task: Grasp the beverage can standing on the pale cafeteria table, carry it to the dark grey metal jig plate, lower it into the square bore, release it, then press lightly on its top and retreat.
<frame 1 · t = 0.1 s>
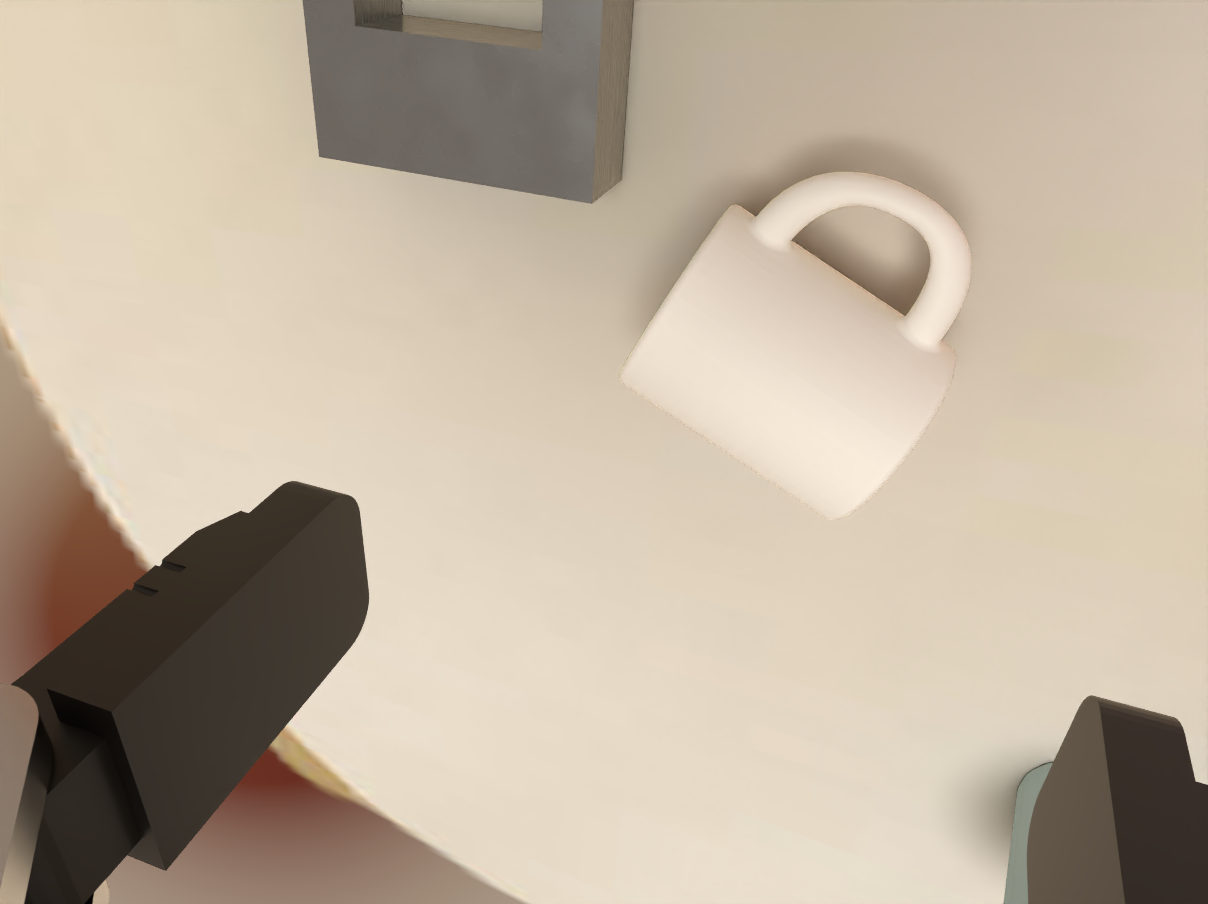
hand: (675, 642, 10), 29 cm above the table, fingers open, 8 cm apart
mug: (827, 285, 38), on the table
cup: (1077, 796, 47), on the table
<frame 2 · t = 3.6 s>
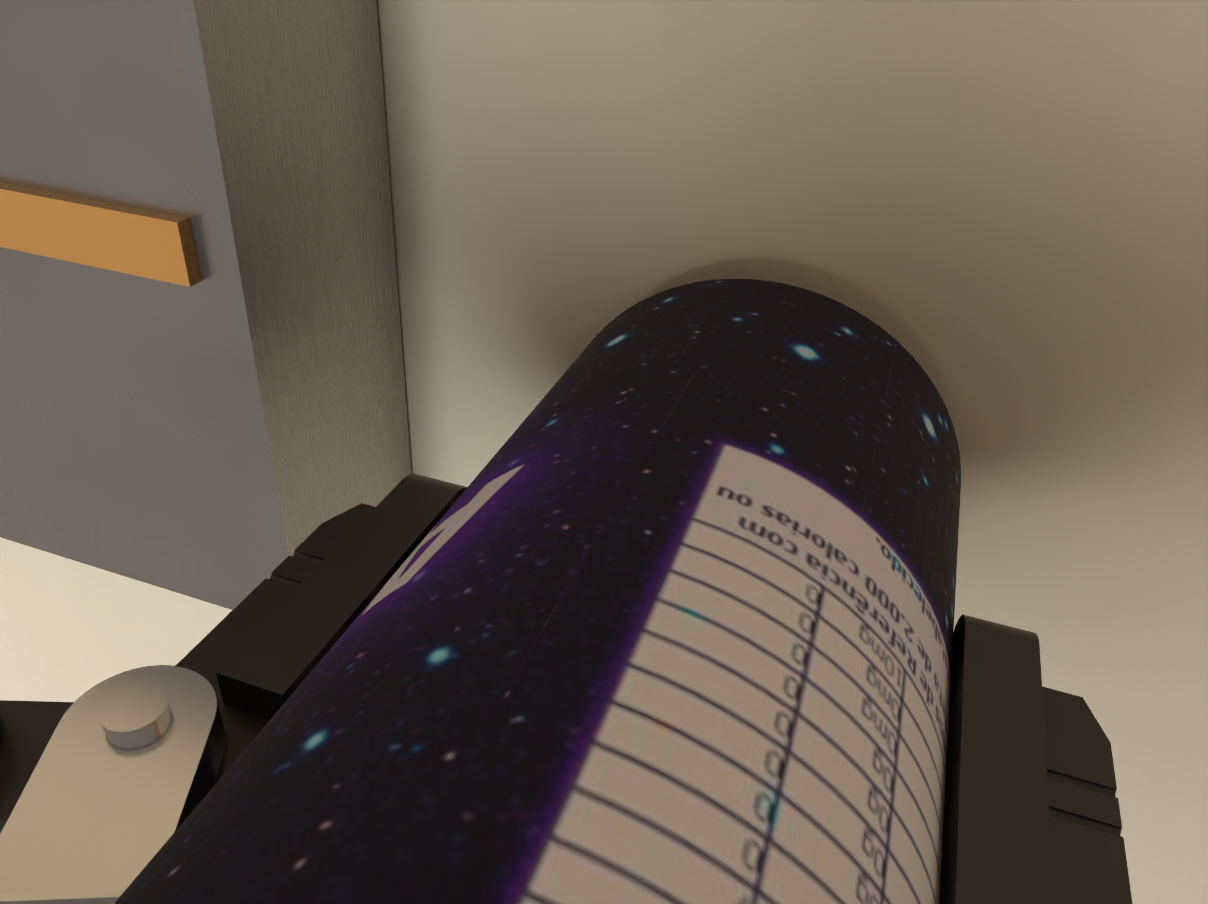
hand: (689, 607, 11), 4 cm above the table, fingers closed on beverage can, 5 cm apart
beverage can: (762, 431, 14), on the table, touching gripper
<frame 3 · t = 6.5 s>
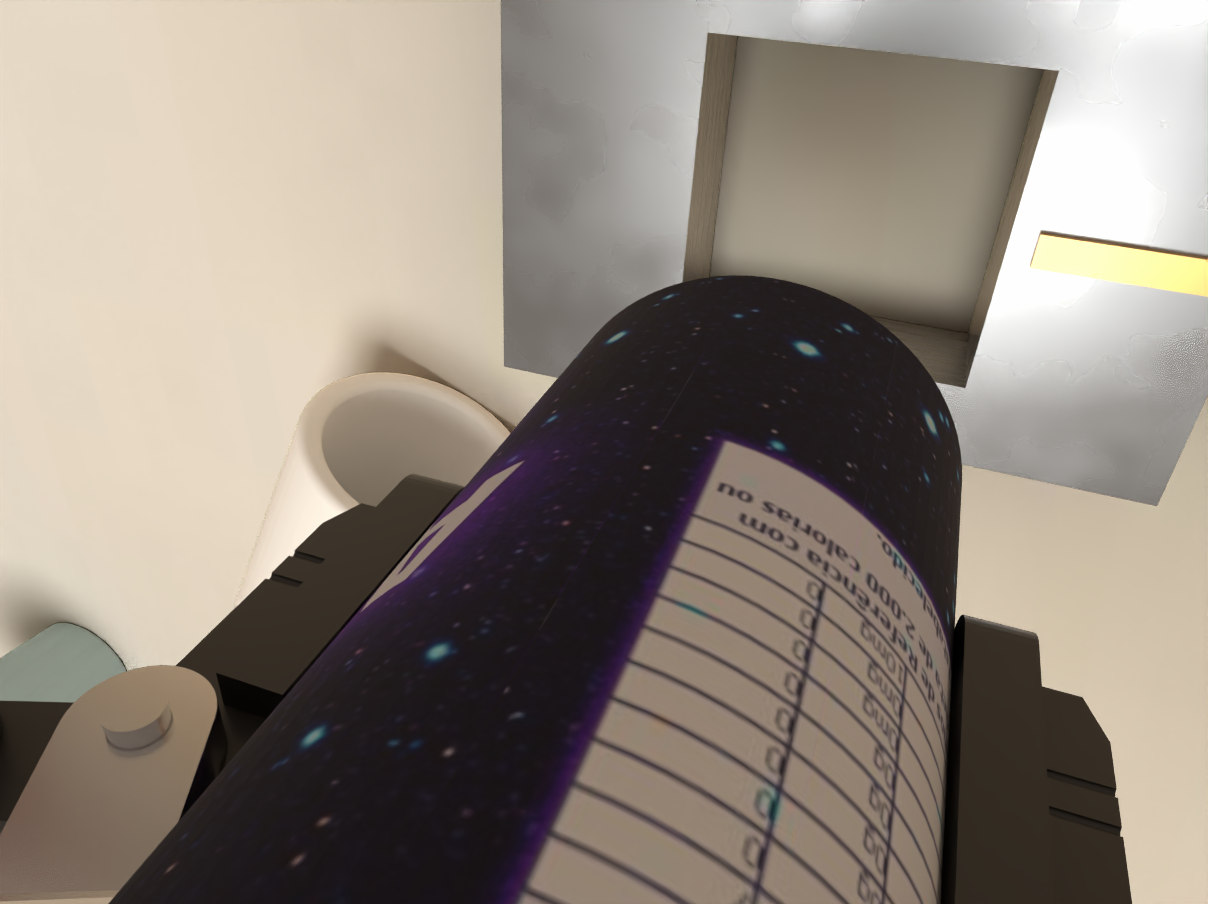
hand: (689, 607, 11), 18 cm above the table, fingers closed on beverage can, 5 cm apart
mug: (476, 513, 37), on the table
cup: (91, 657, 52), on the table
jig: (858, 180, 25), on the table
beverage can: (762, 429, 14), point 14 cm above the table, touching gripper
when the fingers open (5 cm above the table, at t = 9.6 s): beverage can drops 1 cm, resting in jig.
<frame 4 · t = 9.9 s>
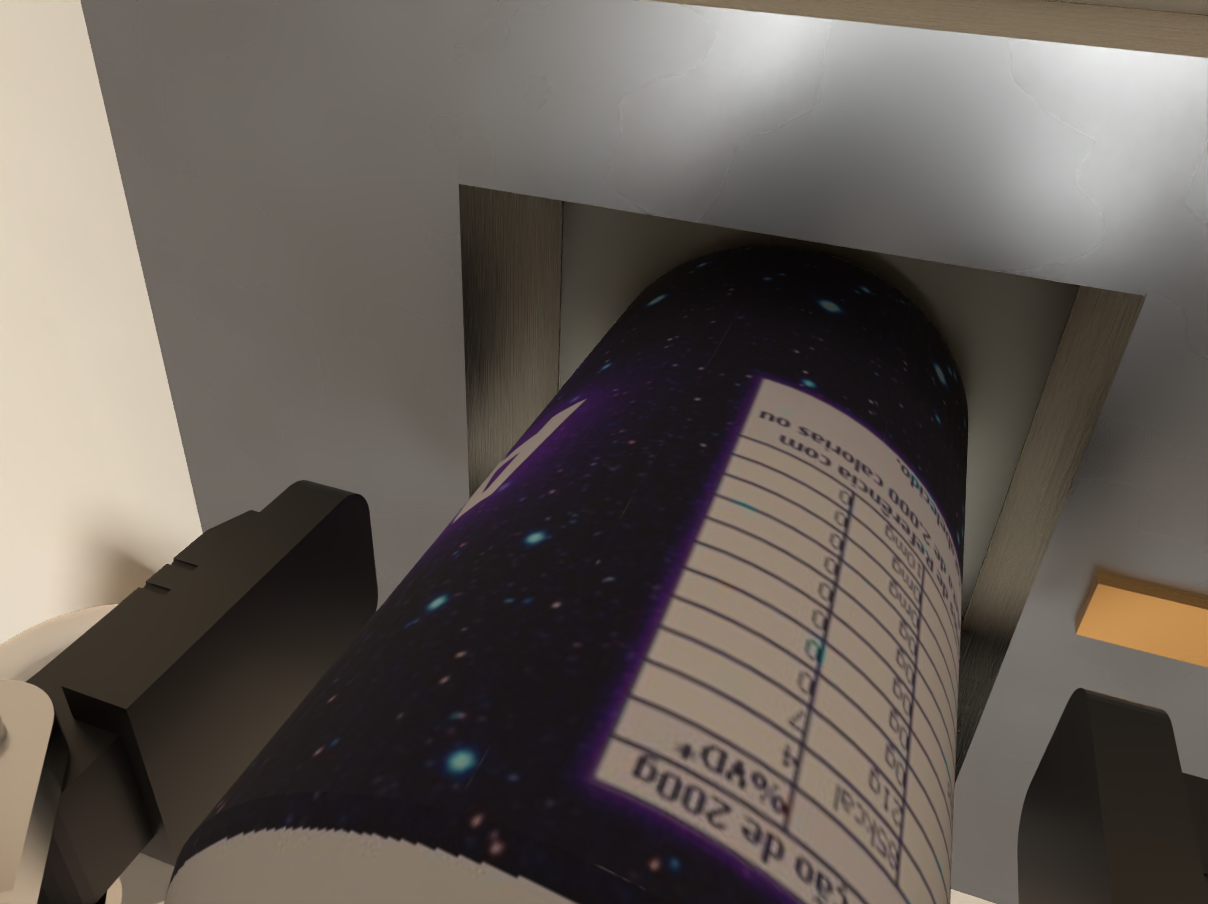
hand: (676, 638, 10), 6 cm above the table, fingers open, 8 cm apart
mug: (281, 763, 27), on the table
jig: (776, 393, 15), on the table
beverage can: (783, 391, 15), resting in jig
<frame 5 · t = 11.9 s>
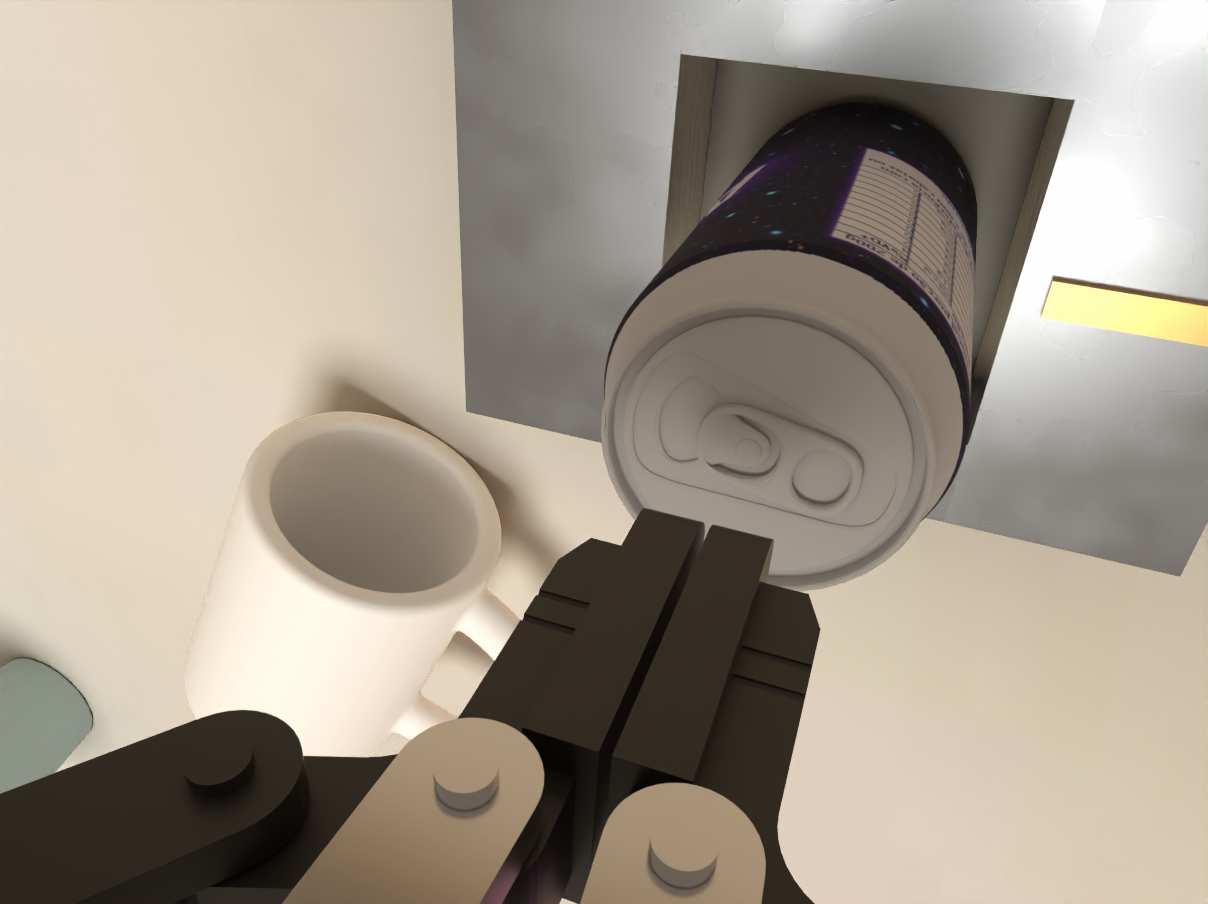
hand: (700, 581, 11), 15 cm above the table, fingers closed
mug: (445, 556, 35), on the table
cup: (53, 694, 50), on the table
jig: (851, 213, 23), on the table
beverage can: (855, 213, 23), resting in jig
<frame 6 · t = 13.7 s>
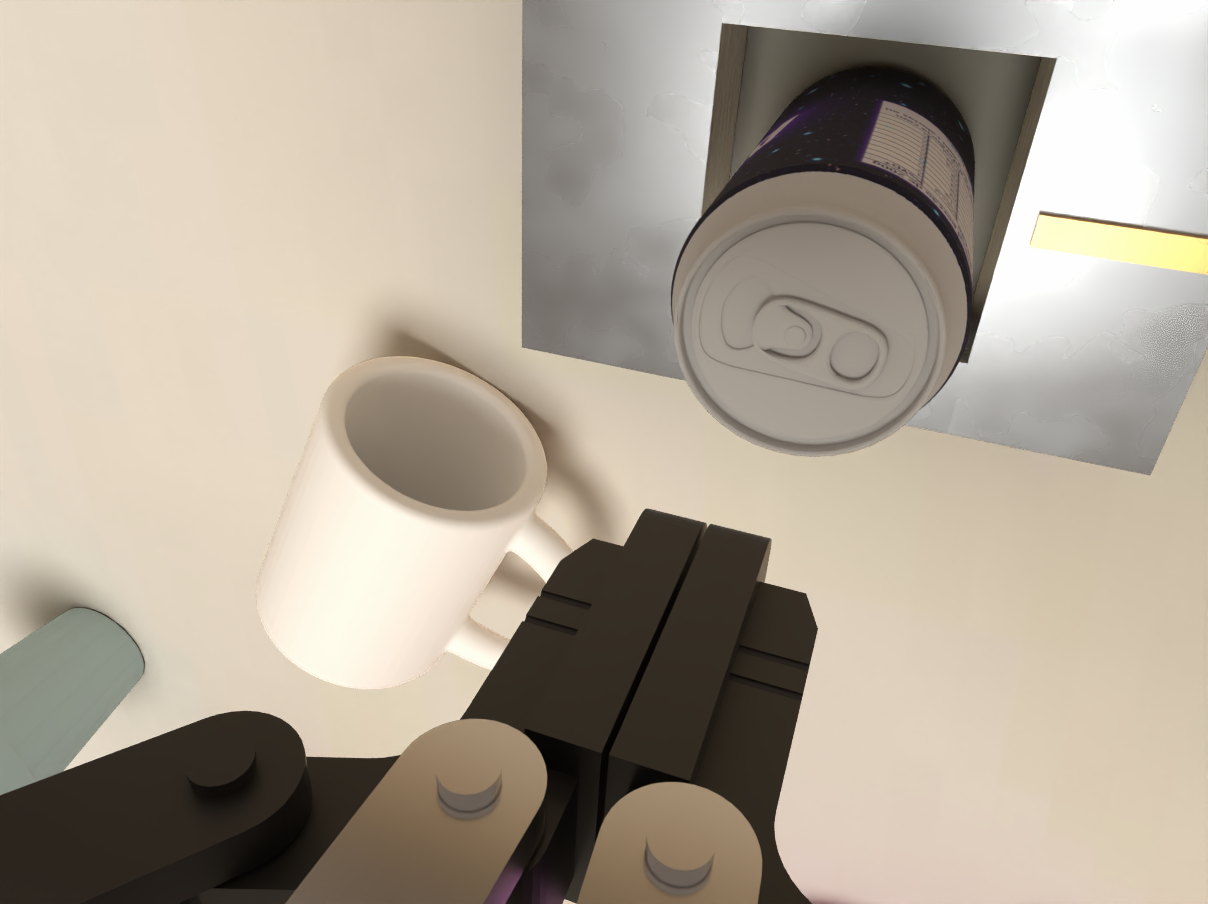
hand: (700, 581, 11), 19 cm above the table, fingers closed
mug: (489, 494, 38), on the table
cup: (106, 642, 53), on the table
jig: (864, 165, 26), on the table
beverage can: (867, 165, 27), resting in jig
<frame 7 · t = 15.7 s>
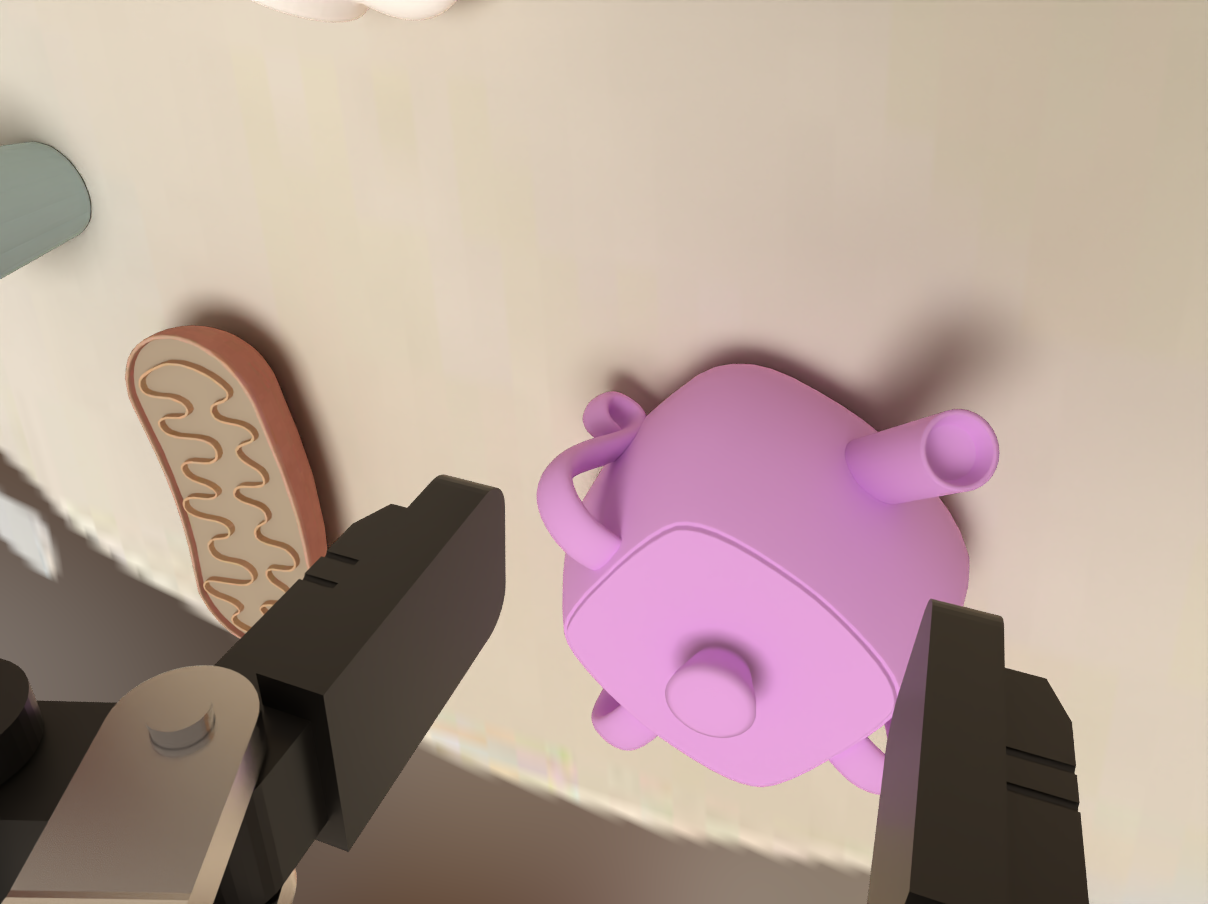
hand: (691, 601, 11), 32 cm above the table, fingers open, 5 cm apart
cup: (55, 188, 55), on the table
anatomical model: (283, 467, 60), on the table
teapot: (796, 491, 48), on the table
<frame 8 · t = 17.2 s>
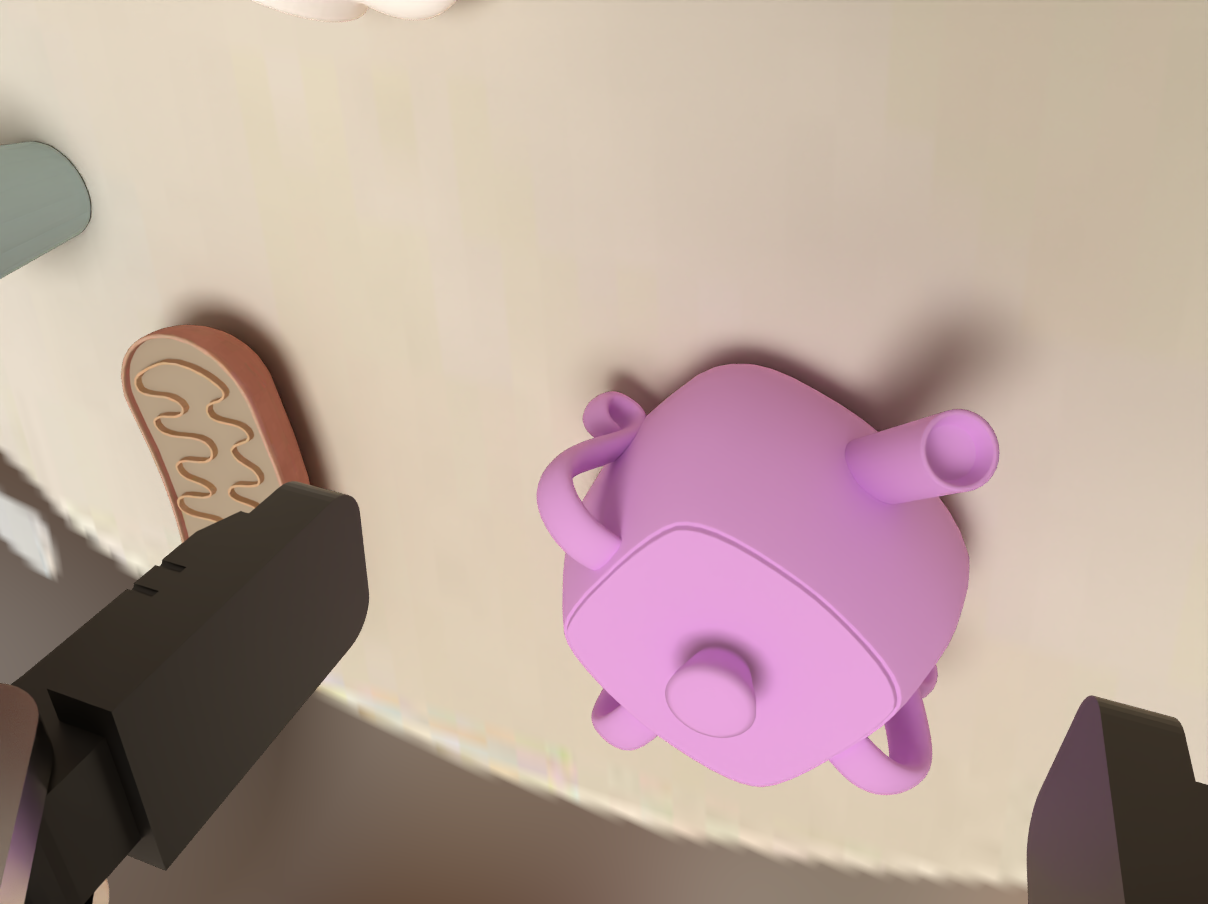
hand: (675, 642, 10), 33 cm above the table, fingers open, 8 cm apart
cup: (55, 188, 55), on the table
anatomical model: (277, 466, 60), on the table
teapot: (796, 491, 48), on the table
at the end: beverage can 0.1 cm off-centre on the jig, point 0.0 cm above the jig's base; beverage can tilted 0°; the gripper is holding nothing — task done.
